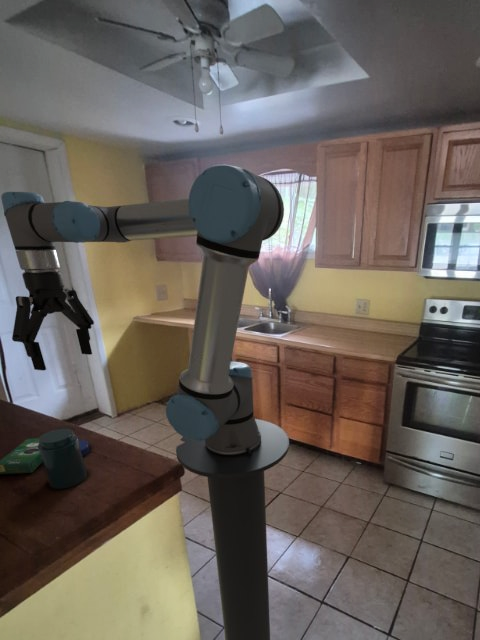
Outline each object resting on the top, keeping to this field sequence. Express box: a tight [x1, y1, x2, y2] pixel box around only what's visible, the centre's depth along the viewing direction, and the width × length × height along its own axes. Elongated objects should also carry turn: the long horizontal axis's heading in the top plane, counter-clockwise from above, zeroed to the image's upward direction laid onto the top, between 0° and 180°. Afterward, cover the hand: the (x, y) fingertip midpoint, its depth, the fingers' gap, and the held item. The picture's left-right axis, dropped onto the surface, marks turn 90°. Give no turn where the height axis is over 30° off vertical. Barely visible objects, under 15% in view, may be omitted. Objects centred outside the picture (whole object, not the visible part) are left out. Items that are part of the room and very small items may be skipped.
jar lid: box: [78, 439, 91, 458], centre depth 96 cm, size 8×8×2 cm
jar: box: [38, 428, 88, 490], centre depth 84 cm, size 8×8×12 cm
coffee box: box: [0, 437, 43, 475], centre depth 93 cm, size 8×3×13 cm
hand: (65, 361), depth 92 cm, fingers open, 13 cm apart
